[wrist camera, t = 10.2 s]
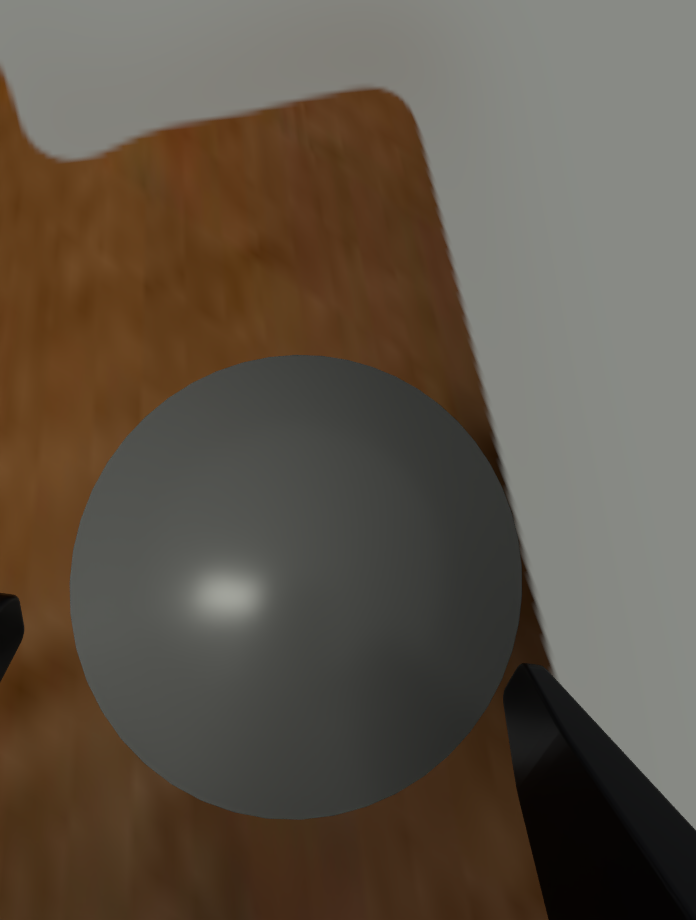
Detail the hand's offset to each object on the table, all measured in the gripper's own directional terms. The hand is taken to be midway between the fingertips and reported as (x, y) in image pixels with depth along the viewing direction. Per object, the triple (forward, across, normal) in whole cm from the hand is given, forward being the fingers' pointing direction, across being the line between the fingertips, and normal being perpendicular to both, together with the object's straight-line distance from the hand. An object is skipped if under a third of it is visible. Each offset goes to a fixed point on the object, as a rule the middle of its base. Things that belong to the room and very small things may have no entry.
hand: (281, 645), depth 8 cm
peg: (+7, 0, +5) cm, 9 cm away
